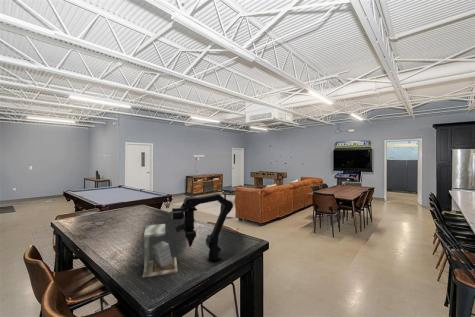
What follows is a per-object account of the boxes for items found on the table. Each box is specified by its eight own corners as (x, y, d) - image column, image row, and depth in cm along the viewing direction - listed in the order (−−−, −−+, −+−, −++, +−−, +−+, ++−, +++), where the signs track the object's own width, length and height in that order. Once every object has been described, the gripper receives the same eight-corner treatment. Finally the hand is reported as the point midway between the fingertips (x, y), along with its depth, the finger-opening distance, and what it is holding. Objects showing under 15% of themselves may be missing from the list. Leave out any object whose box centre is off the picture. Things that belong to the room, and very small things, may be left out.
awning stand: (176, 258, 147) (175, 222, 147) (177, 272, 130) (177, 232, 130) (145, 262, 142) (145, 225, 141) (142, 277, 125) (142, 235, 124)
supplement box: (156, 265, 137) (151, 246, 135) (167, 258, 142) (162, 240, 140) (161, 269, 132) (157, 249, 129) (173, 262, 137) (168, 243, 135)
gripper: (174, 215, 145) (174, 239, 145) (176, 223, 127) (176, 251, 127) (192, 213, 148) (192, 237, 149) (196, 222, 130) (196, 249, 131)
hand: (189, 243), depth 139 cm, fingers open, 9 cm apart
